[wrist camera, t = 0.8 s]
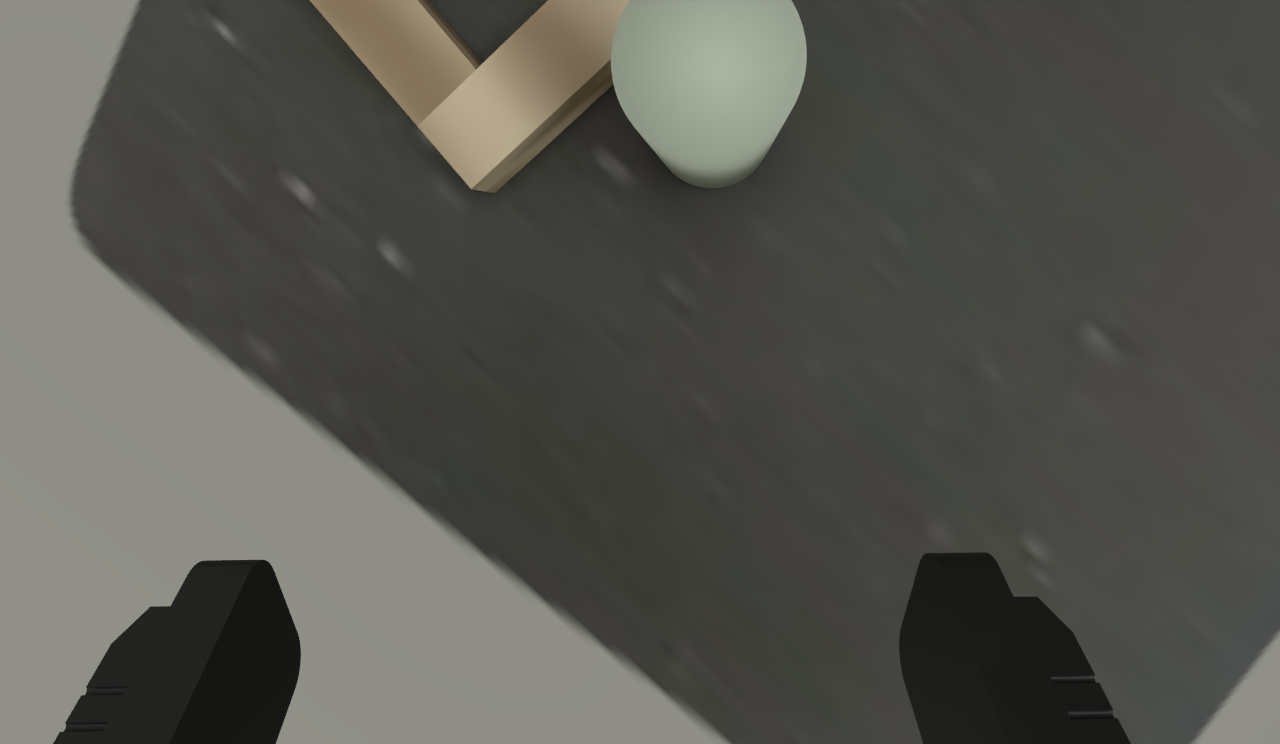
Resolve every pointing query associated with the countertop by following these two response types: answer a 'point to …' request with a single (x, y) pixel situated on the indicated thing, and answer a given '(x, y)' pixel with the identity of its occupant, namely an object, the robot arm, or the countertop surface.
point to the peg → (709, 81)
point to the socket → (484, 77)
